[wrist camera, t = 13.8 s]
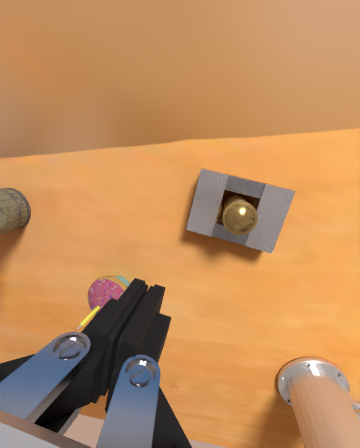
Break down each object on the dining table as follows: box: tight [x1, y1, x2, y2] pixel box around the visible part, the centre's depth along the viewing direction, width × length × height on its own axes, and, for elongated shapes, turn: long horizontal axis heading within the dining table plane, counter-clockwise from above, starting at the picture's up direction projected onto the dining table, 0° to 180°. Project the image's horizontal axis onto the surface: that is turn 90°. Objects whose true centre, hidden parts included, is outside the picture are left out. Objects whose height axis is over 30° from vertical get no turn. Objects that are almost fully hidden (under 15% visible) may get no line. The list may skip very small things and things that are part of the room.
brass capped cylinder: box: [222, 196, 258, 235], centre depth 34 cm, size 5×5×9 cm
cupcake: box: [77, 276, 130, 329], centre depth 40 cm, size 9×8×12 cm
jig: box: [186, 168, 295, 253], centre depth 36 cm, size 14×10×4 cm
